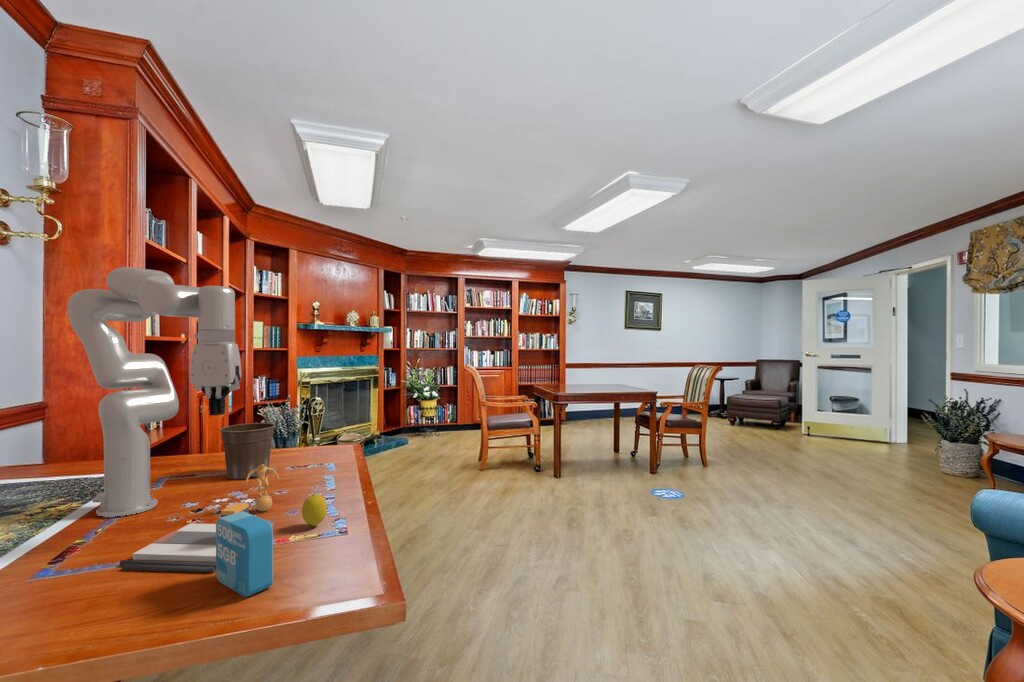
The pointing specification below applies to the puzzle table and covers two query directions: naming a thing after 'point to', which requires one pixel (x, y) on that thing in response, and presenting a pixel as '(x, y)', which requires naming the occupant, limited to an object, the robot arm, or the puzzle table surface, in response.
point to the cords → (168, 566)
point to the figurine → (263, 501)
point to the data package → (244, 553)
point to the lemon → (314, 509)
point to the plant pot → (246, 448)
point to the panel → (183, 545)
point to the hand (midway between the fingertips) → (217, 414)
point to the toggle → (235, 509)
